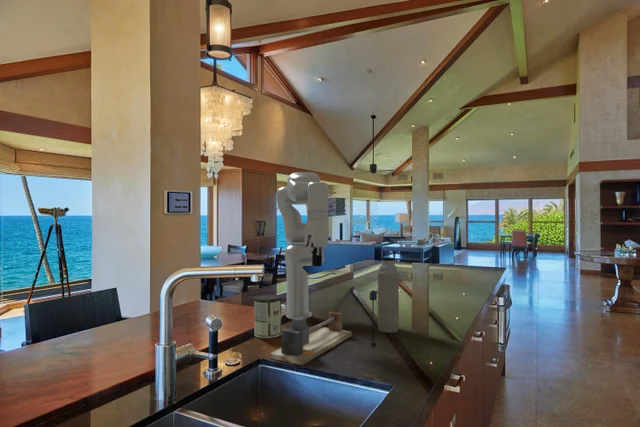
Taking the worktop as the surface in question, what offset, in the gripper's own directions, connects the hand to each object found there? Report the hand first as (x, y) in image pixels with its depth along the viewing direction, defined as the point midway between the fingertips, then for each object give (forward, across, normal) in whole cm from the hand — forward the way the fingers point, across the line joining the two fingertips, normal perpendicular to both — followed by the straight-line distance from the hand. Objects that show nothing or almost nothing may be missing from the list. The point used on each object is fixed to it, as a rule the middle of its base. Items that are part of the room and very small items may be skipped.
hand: (316, 265), depth 147 cm
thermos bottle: (+26, -21, +20) cm, 39 cm away
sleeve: (+22, +20, +6) cm, 30 cm away
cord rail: (+26, +10, +6) cm, 28 cm away
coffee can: (+26, +8, -16) cm, 32 cm away
